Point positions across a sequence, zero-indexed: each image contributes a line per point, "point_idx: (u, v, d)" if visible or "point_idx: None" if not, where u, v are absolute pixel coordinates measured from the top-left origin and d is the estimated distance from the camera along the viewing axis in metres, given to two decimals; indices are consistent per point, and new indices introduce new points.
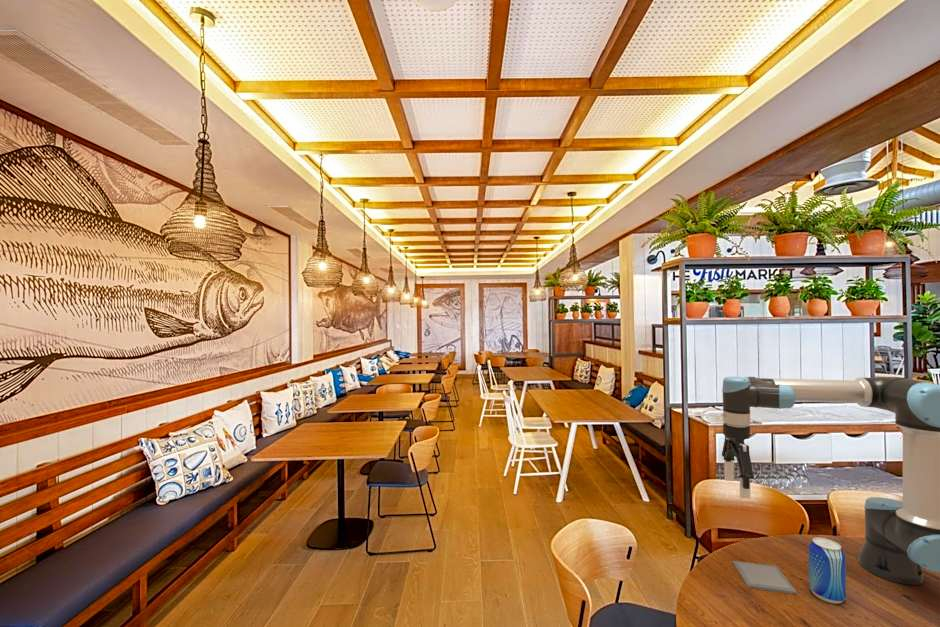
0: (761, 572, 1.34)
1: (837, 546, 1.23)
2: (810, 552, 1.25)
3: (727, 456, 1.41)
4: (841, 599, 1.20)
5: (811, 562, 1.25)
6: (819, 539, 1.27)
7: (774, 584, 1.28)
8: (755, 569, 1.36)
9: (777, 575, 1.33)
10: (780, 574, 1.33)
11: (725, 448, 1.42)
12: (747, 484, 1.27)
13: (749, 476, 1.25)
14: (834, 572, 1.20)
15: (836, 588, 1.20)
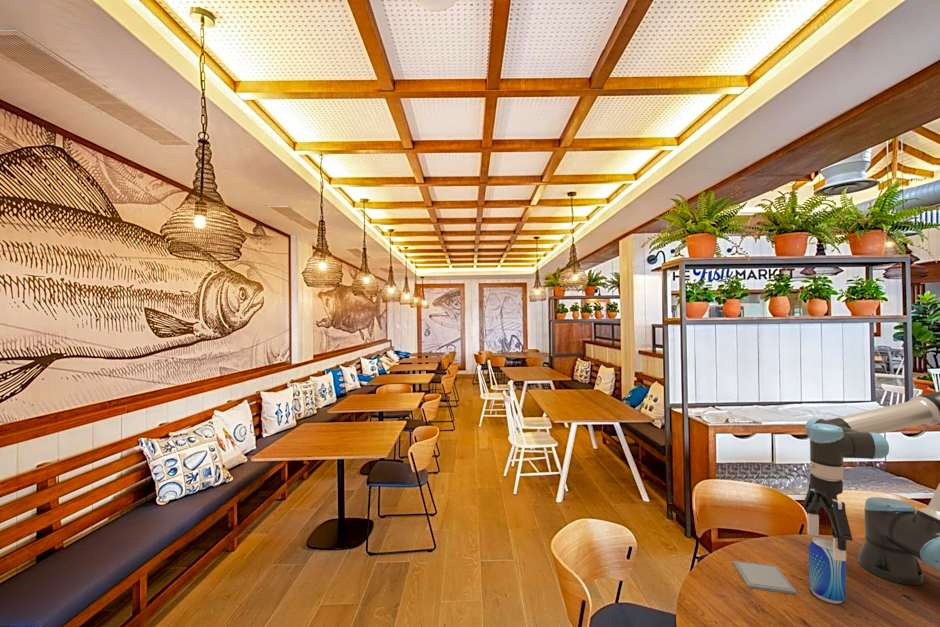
0: (761, 572, 1.34)
1: None
2: (810, 552, 1.25)
3: (811, 509, 1.30)
4: (841, 599, 1.20)
5: (811, 562, 1.25)
6: (819, 539, 1.27)
7: (774, 584, 1.28)
8: (755, 569, 1.36)
9: (777, 575, 1.33)
10: (780, 574, 1.33)
11: (808, 499, 1.32)
12: (843, 545, 1.16)
13: (847, 538, 1.14)
14: (834, 572, 1.20)
15: (836, 588, 1.20)
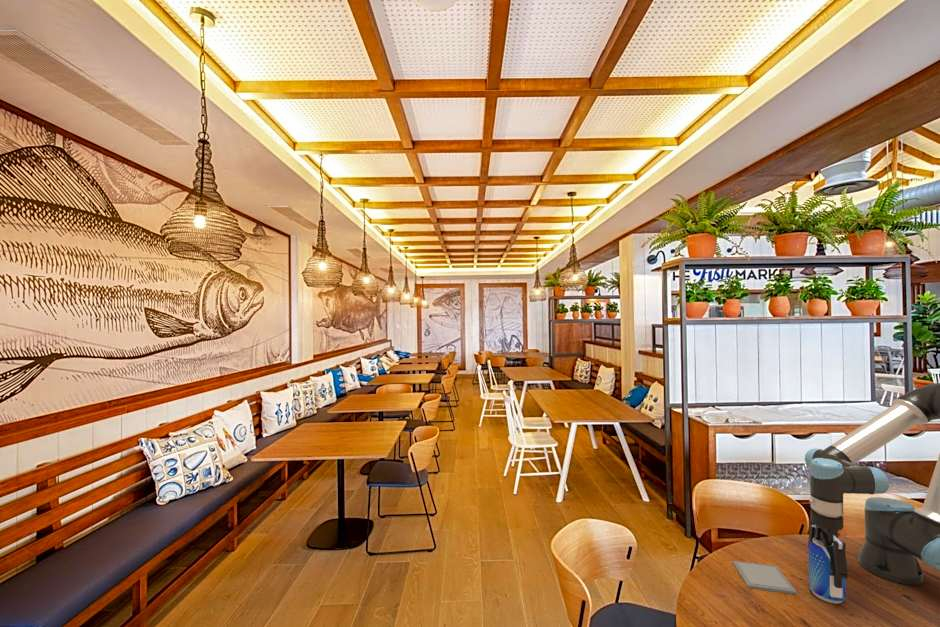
0: (761, 572, 1.34)
1: None
2: (810, 552, 1.25)
3: None
4: (841, 599, 1.20)
5: (811, 562, 1.25)
6: None
7: (774, 584, 1.28)
8: (755, 569, 1.36)
9: (777, 575, 1.33)
10: (780, 574, 1.33)
11: (812, 538, 1.30)
12: (840, 583, 1.18)
13: (843, 576, 1.17)
14: None
15: None
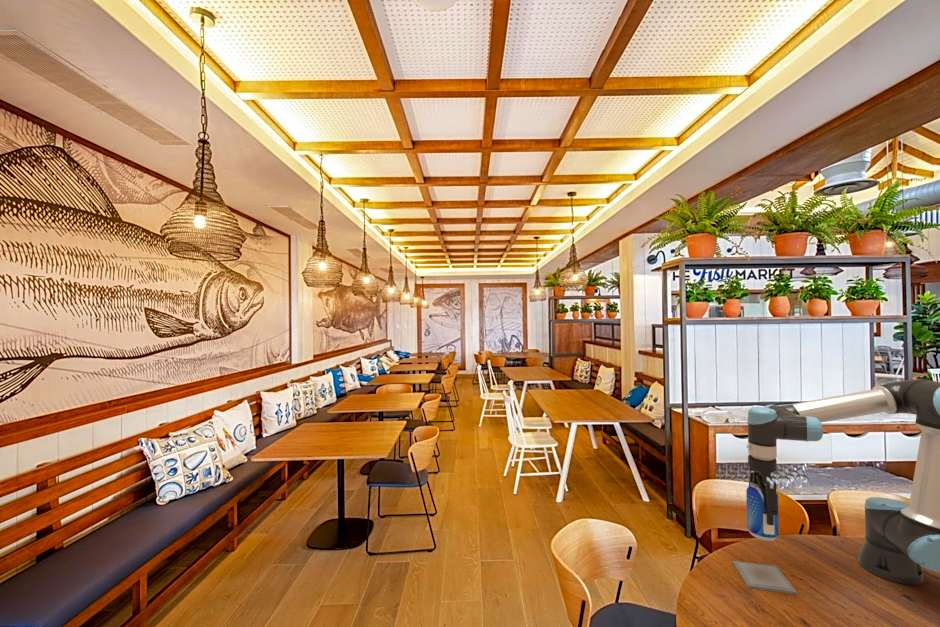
0: (761, 572, 1.34)
1: None
2: (747, 494, 1.34)
3: None
4: (773, 536, 1.29)
5: (748, 504, 1.33)
6: None
7: (774, 584, 1.28)
8: (755, 569, 1.36)
9: (777, 575, 1.33)
10: (780, 574, 1.33)
11: None
12: (771, 520, 1.27)
13: (774, 513, 1.25)
14: None
15: None
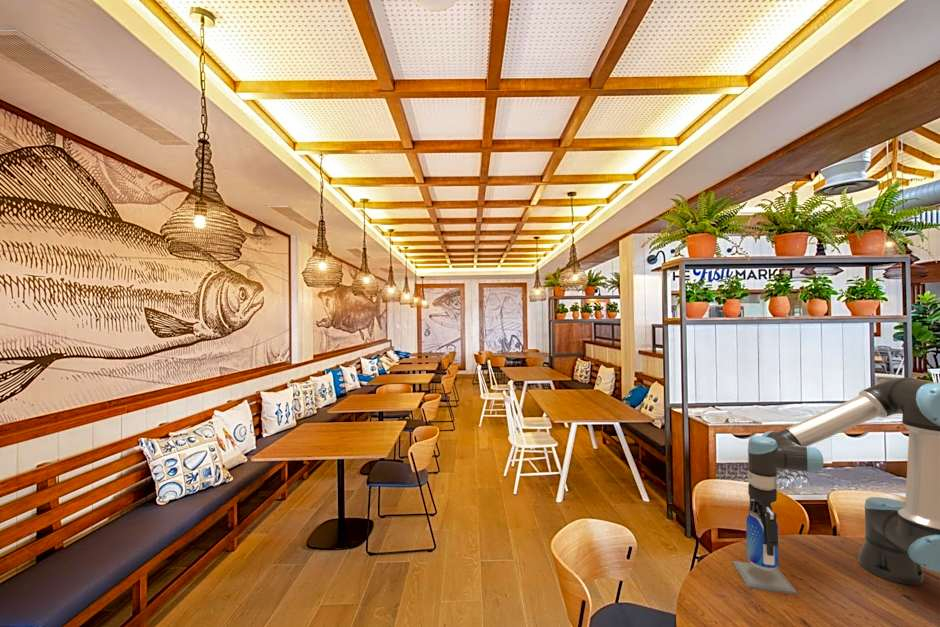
0: (761, 572, 1.34)
1: None
2: (747, 523, 1.34)
3: None
4: (773, 566, 1.29)
5: (748, 533, 1.33)
6: (756, 512, 1.35)
7: (774, 584, 1.28)
8: (755, 569, 1.36)
9: (777, 575, 1.33)
10: (780, 574, 1.33)
11: None
12: (771, 551, 1.27)
13: (774, 544, 1.25)
14: None
15: None
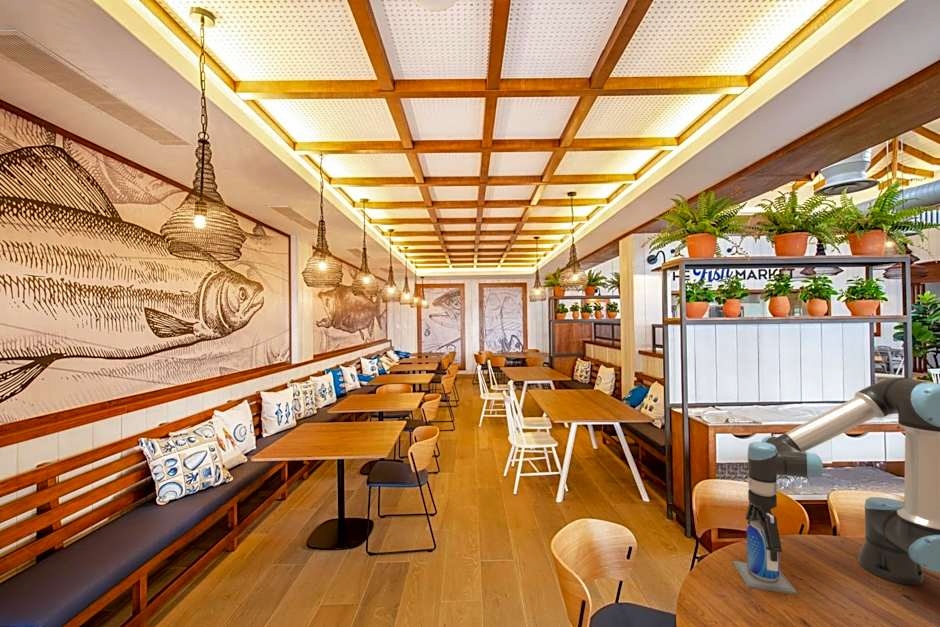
0: None
1: None
2: (747, 534, 1.34)
3: None
4: (774, 577, 1.29)
5: (748, 543, 1.33)
6: (756, 522, 1.35)
7: (774, 584, 1.28)
8: None
9: None
10: (780, 574, 1.33)
11: (749, 512, 1.40)
12: (775, 557, 1.25)
13: (777, 550, 1.23)
14: None
15: None
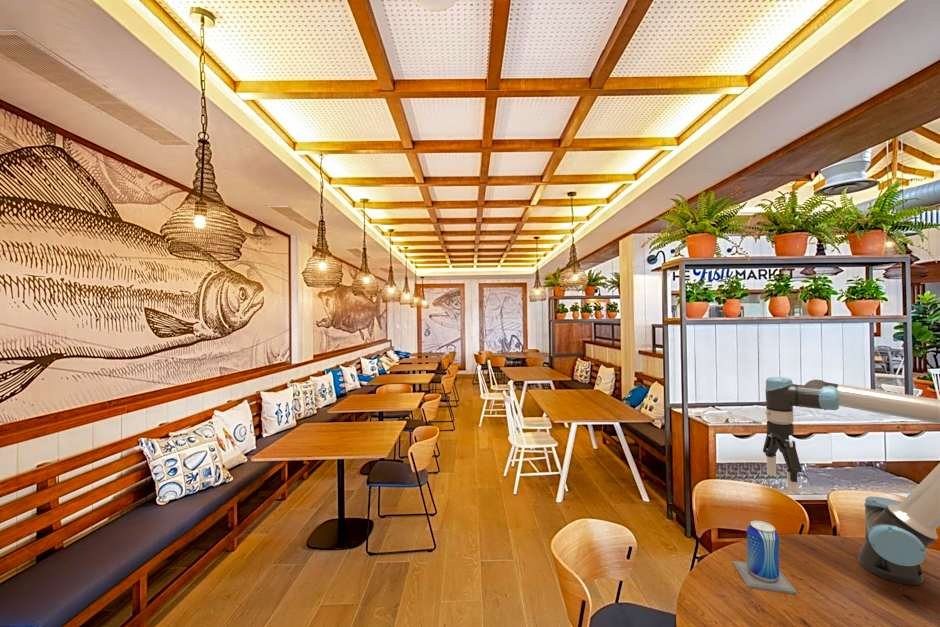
0: None
1: (772, 528, 1.32)
2: (748, 534, 1.34)
3: (769, 452, 1.50)
4: (774, 577, 1.29)
5: (748, 543, 1.33)
6: (757, 522, 1.35)
7: (774, 584, 1.28)
8: None
9: None
10: (780, 574, 1.33)
11: (767, 444, 1.51)
12: (795, 477, 1.36)
13: (797, 470, 1.34)
14: (768, 552, 1.29)
15: (769, 567, 1.29)
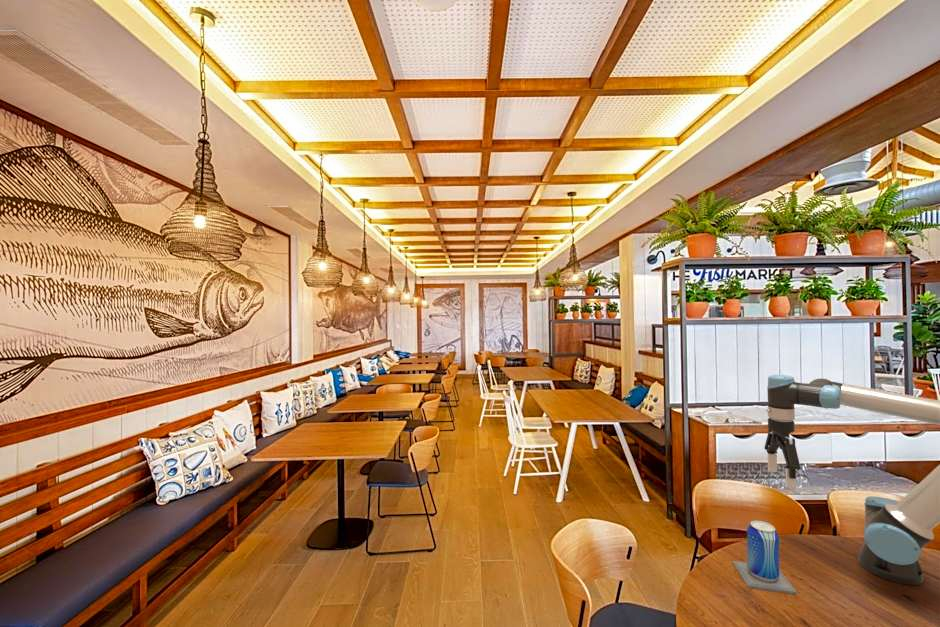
0: None
1: (772, 528, 1.31)
2: (748, 534, 1.34)
3: (770, 449, 1.51)
4: (774, 577, 1.29)
5: (748, 543, 1.33)
6: (757, 522, 1.35)
7: (774, 584, 1.28)
8: None
9: None
10: (780, 574, 1.33)
11: (768, 441, 1.53)
12: (793, 474, 1.37)
13: (796, 467, 1.35)
14: (768, 552, 1.29)
15: (769, 567, 1.29)
